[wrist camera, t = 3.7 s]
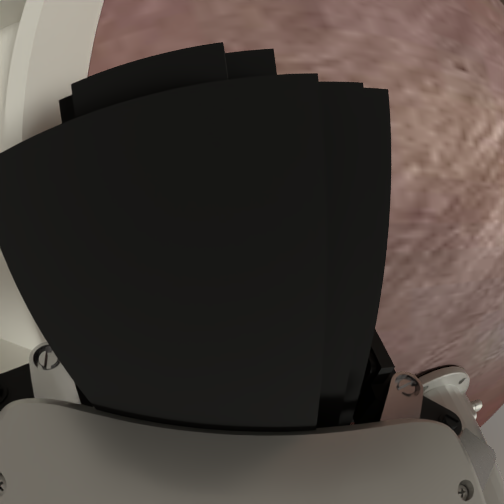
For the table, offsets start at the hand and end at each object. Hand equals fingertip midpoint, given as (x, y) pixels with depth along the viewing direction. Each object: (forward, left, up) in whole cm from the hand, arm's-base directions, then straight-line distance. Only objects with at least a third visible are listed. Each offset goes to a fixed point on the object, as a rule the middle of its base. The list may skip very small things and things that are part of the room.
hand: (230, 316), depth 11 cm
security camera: (0, +1, -4) cm, 4 cm away
